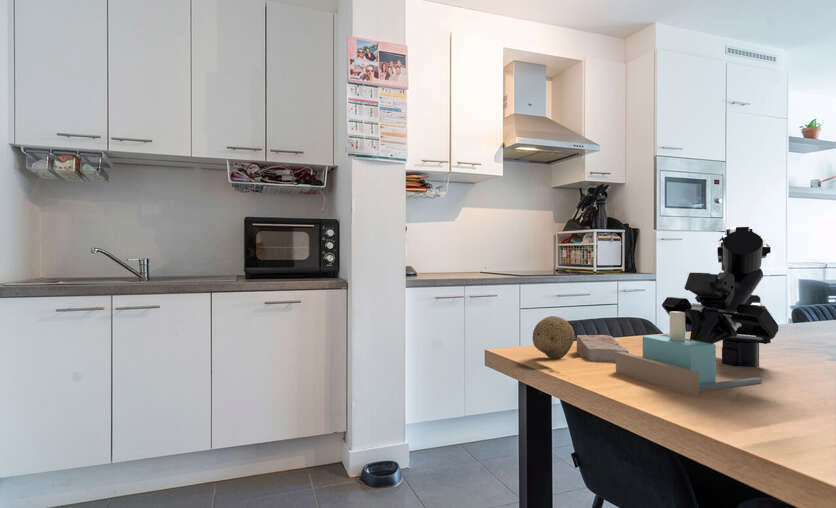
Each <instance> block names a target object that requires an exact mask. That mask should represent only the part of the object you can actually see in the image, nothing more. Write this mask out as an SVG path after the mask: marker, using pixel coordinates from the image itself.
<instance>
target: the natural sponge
mask: <svg viewBox="0 0 836 508" xmlns="http://www.w3.org/2000/svg"><path fill="white" fill-rule="evenodd" d="M574 341H575V331H574V328H573V326H572V325H571V324H570V322H568V320H567V319H565V318H562V317H560V316H555V315H550V316H547V317H544V318H543V319H541V320H539V321H538V323H536V325H535V327H534V329H533V332H532V344H533V345H534V348H536V349H537V351H539V352H541V353H543V354H544V355H545V356H546V357H547V358H548V359H550V360H552V361H557V360H561V359H563V358H564V357H565V356H567V354H568V352H569V351H570V350H571V348H572V346H573V344H574Z"/></svg>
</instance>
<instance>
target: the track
mask: <svg viewBox="0 0 836 508" xmlns="http://www.w3.org/2000/svg"><path fill="white" fill-rule="evenodd" d="M615 372H616V373H618V374H622V375H624V376H627V377H631V378H634V379H637V380H640V381H643V382H646V383H648V384H649V383H650V384H652V385H655V386H658V387H661V388H663V389H668V390H670V391H673V392H676V393H680V394H683V395H685V396H688V397H693V398H694V397H699V396H700V392H704V391H712V390H713V391H714V390H720V389H728V388H734V387H735V388H736V387H742V386H750V385H757V384H762V382H763V381H762V380H763V379H762V378H759V377H749V378H747V377H746V378H739V379H733V380H732V379H731V380H723V381H716V382H715V383H707V384H699V372H697V371H693V370H689V369H686V368H682V367H678V366H674V365H671V364H667V363H663V362H659V361H656V360H652V359H648V358H644V357H643V356H640V355H638V354H637V355H636V354H632V353H630V352H629V353H626V352H616V362H615Z"/></svg>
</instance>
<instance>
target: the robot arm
mask: <svg viewBox="0 0 836 508" xmlns="http://www.w3.org/2000/svg"><path fill="white" fill-rule="evenodd" d="M725 229H726V231H725V232H726V233H725V234H723V235H722V236H721V238H720V239H718V241H717V251H716V252H717V261H718V262H717V263H721V271H723V272H719V273H718V274H717V273H716V274H715V273H709V272H688V275H687V279H686V282H685V284H684V290H686V291H689V292H690V293H692V294H695V297H694V299H695V301H696V302H697V303H694V302H693V303H691V302H690V301H689V299H688V298H686V297H676V296H667V297H666V298H665V299H664V301H663V302H662V304H661V307H662V308H663V309H664V310H665V312H666V313H667V315H668V316H669V317H670V312H672V311H675V312H685V327H686V326H687V327H691V329H690V336H689V339H690V340H695V341H700V342H705V343H710V344H715V343H718V342H721V341H722V342H721V343H722V346H721V364H722V365H727V366H731V367H742V368H743V367H744V368H755V367H758V368H759V367H760V344H763V345H767V344H771V340H773V339H774V338H775V337H776V335H777V333H778V332H779V324H778V322H777V321H776V320H775V319H774V317H773V316H772V314H771V313H770V312H769V310H768V309H767V307H766V306H765V305H763V304H762V302H761V297H760V296H759V295H758V294H753V292H754V291H755V290H756V288H757V286H758V285H759V283H760V282H761V280H762V279H763V278H764V273H763V270H762V268H761V266H762V261H763V259H766V258H767V256H768V254H771V246H770V245H768V243H767V242H766V240H763V238H762V237H761V236H762V235H760V234H758V233H756V232H754V230H753V227H750V226H730V227H726V228H725Z"/></svg>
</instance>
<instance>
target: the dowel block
mask: <svg viewBox="0 0 836 508" xmlns="http://www.w3.org/2000/svg"><path fill="white" fill-rule="evenodd" d="M716 347H717V345H716V344H715V343H714V344H710V343H705V342H700V341H695V340H690V338H689V339H688V338H686V326H685V312H675V311H672V312H670V316H669V335H668V334H658V335H657V334H656V335H644V336H642V357H644V358H648V359H652V360H656V361H659V362H663V363H667V364H671V365H674V366H678V367H682V368H686V369H689V370H693V371H697V372H699V384H707V383H715V382H717V378H716V375H717V374H716V370H717V369H716V368H717V367H716V366H717V365H716V362H717V360H716V357H717V355H716V353H717V352H716V350H717V348H716Z"/></svg>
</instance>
